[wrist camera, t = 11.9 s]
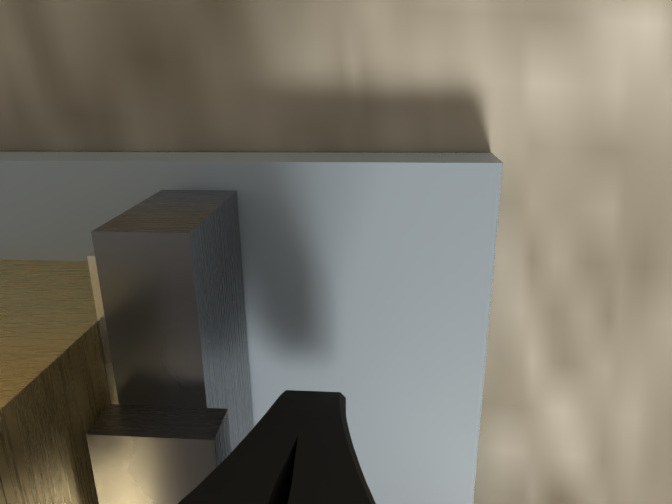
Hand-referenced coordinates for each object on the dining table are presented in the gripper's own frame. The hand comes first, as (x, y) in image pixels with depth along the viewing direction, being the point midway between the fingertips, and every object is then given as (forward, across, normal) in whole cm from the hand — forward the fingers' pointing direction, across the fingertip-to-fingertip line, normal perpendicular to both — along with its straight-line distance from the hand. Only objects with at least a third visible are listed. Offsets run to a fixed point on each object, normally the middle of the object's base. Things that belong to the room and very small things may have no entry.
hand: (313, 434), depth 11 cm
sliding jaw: (+1, +2, 0) cm, 3 cm away
